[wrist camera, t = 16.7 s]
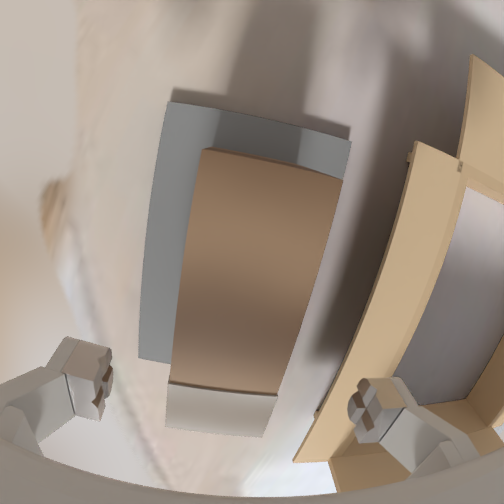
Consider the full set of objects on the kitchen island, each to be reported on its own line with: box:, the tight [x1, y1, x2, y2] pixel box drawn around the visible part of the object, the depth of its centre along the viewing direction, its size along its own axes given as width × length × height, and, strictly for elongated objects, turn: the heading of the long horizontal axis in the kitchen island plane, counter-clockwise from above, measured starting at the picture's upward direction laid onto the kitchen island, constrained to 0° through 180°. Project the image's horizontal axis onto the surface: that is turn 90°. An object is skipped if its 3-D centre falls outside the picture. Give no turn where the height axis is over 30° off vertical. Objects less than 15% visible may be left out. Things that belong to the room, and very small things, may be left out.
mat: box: [138, 102, 352, 364], centre depth 18 cm, size 16×10×1 cm, turn 168°
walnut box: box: [165, 147, 343, 438], centre depth 14 cm, size 12×5×7 cm, turn 168°
